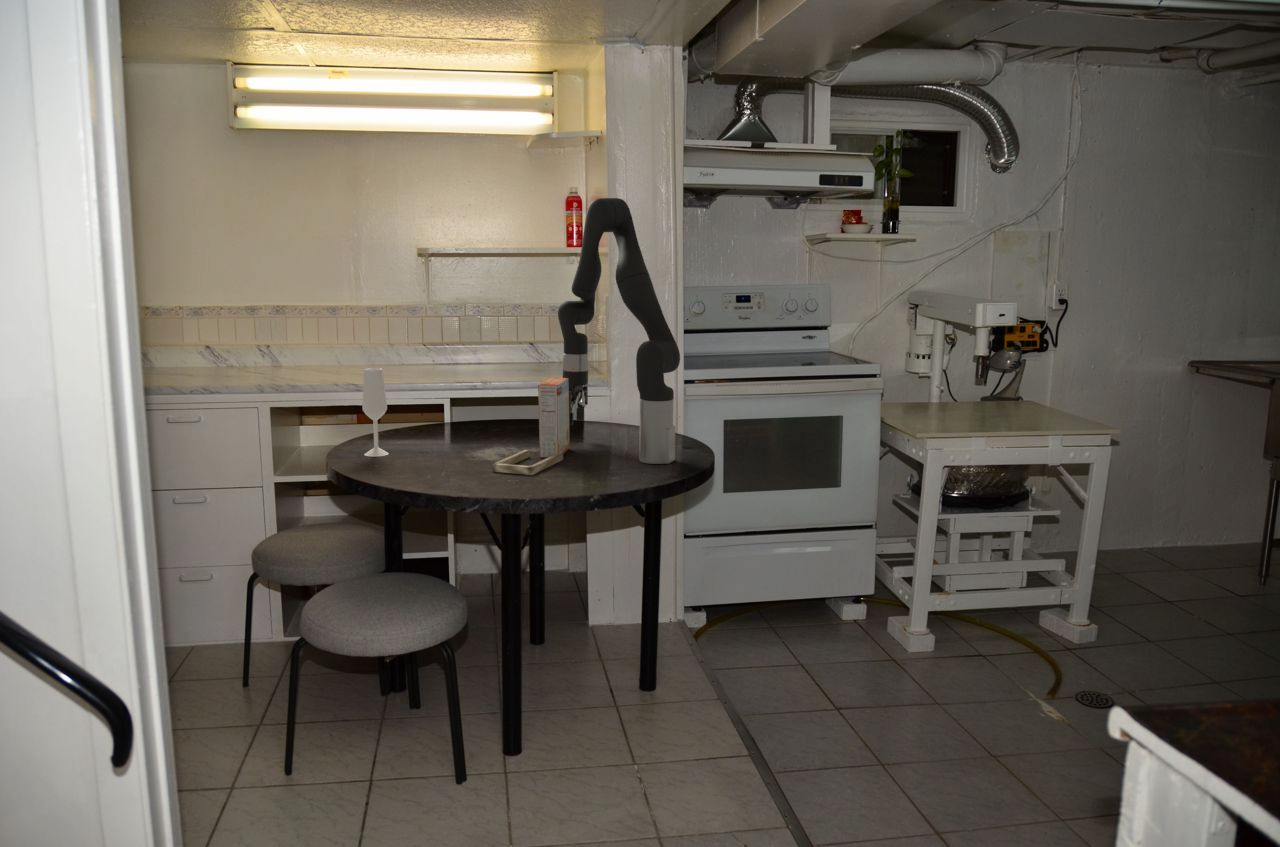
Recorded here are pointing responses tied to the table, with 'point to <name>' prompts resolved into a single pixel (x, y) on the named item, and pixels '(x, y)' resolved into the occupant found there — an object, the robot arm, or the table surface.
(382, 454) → the champagne flute
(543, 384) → the cracker box
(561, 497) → the table surface
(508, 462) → the outline frame
